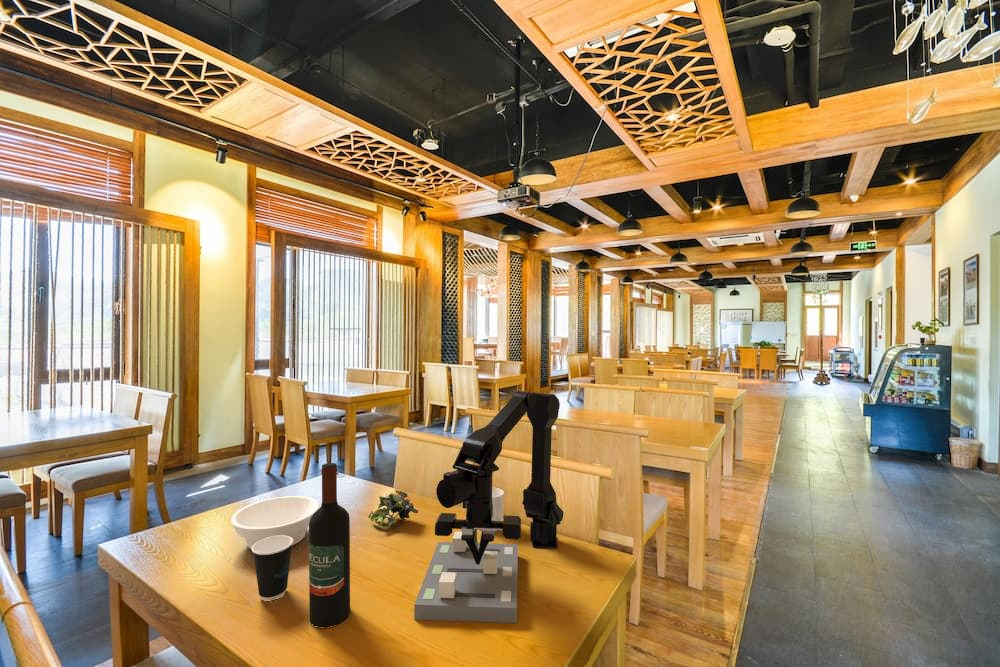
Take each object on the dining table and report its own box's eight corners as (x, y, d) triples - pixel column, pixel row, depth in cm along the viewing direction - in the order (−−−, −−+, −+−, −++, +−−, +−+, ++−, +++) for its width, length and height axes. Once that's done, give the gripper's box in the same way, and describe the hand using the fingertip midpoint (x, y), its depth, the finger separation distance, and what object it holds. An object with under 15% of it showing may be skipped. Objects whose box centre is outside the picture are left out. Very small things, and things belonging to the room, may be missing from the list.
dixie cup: (288, 603, 92) (288, 550, 92) (246, 608, 90) (246, 555, 90) (297, 581, 100) (296, 533, 100) (258, 586, 98) (258, 537, 98)
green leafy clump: (401, 537, 132) (425, 504, 132) (385, 548, 121) (412, 512, 122) (374, 512, 135) (398, 479, 135) (356, 520, 124) (382, 485, 125)
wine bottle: (358, 609, 90) (357, 462, 90) (329, 632, 83) (328, 473, 83) (330, 599, 93) (329, 457, 93) (300, 621, 87) (299, 468, 86)
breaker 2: (466, 544, 110) (467, 531, 110) (465, 551, 106) (465, 538, 106) (454, 544, 110) (454, 531, 110) (452, 551, 107) (452, 538, 106)
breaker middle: (498, 565, 101) (498, 551, 100) (497, 574, 97) (497, 559, 97) (484, 564, 101) (484, 550, 101) (483, 573, 97) (483, 559, 97)
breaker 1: (456, 587, 92) (456, 572, 92) (453, 598, 88) (453, 582, 88) (442, 587, 92) (441, 572, 92) (438, 597, 89) (438, 581, 89)
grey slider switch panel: (517, 556, 111) (517, 543, 111) (516, 623, 86) (516, 607, 86) (438, 553, 112) (438, 541, 112) (414, 619, 87) (414, 604, 87)
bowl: (211, 552, 113) (211, 520, 113) (280, 518, 132) (280, 491, 132) (272, 569, 105) (272, 535, 105) (336, 531, 124) (336, 502, 124)
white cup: (507, 523, 129) (507, 489, 129) (498, 535, 122) (498, 499, 122) (482, 519, 132) (482, 485, 132) (471, 531, 125) (471, 495, 124)
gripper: (521, 482, 106) (520, 547, 107) (443, 479, 107) (442, 543, 107) (521, 501, 95) (520, 573, 95) (434, 497, 96) (433, 569, 96)
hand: (478, 563), depth 99 cm, fingers closed
